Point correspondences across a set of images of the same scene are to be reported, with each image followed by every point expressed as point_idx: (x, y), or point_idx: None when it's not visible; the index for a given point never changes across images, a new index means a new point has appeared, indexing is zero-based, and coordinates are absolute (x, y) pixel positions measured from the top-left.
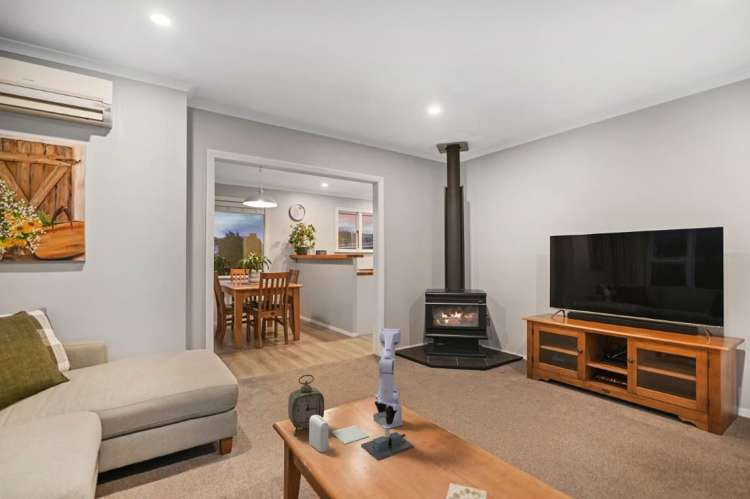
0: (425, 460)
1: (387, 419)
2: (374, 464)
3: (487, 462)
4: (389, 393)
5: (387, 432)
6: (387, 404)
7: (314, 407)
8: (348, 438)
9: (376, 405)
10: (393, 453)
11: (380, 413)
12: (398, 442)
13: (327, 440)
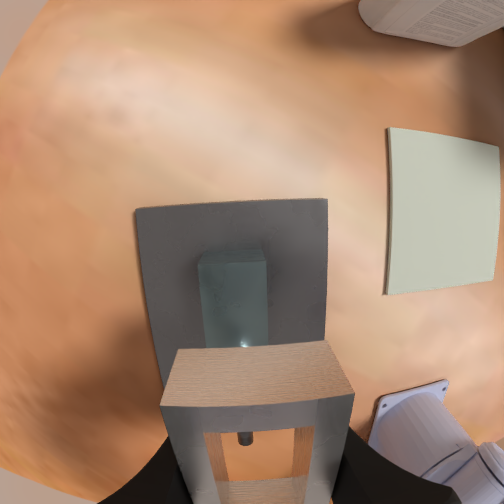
0: (73, 393)
1: (168, 449)
2: (115, 174)
3: (47, 478)
4: None
5: None
6: None
7: None
8: (424, 177)
9: (409, 492)
10: (151, 319)
11: (308, 456)
12: None
13: (390, 4)
